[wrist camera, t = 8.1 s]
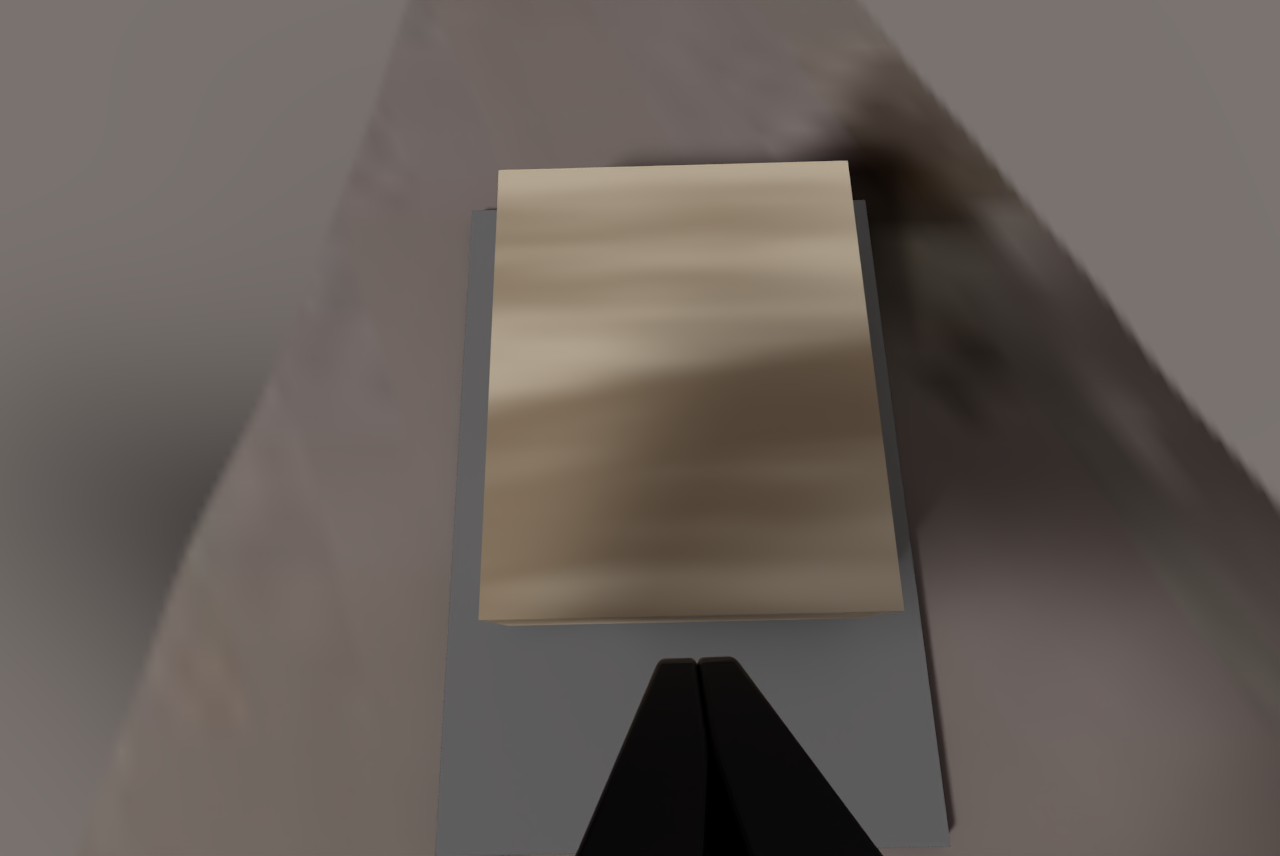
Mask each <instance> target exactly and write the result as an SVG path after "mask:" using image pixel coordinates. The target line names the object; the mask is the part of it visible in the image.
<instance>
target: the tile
mask: <svg viewBox="0 0 1280 856" xmlns="http://www.w3.org/2000/svg"><path fill="white" fill-rule="evenodd" d="M900 611H904V603H903V595H902V587H901V579H900V571H899V563H898V556H897V548H896V540H895V532H894V524H893V516H892V508H891V500H890V492H889V484H888V476H887V468H886V460H885V453H884V445H883V437H882V429H881V421H880V413H879V405H878V397H877V389H876V381H875V373H874V365H873V357H872V349H871V342H870V334H869V326H868V318H867V310H866V302H865V294H864V286H863V278H862V270H861V262H860V254H859V246H858V239H857V231H856V223H855V215H854V207H853V199H852V191H851V183H850V175H849V167H848V161H817V162H781V163H744V164H708V165H672V166H636V167H599V168H563V169H527V170H499V177H498V199H497V221H496V243H495V265H494V287H493V310H492V332H491V354H490V376H489V398H488V420H487V442H486V464H485V487H484V509H483V531H482V553H481V575H480V597H479V619H478V620H481V621H486V622H491V623H497V624H502V625H507V626H523V625H569V624H615V623H661V622H708V621H754V620H800V619H846V618H864V617H870V616H876V615H882V614H888V613H894V612H900Z"/></svg>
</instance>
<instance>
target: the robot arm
mask: <svg viewBox="0 0 1280 856" xmlns="http://www.w3.org/2000/svg"><path fill="white" fill-rule="evenodd" d="M575 856H883V855H882V854H881V852H880V851H879V850H878V848H877V847H876V846H875V844H874V843H873V842H872V840H871V839H870V837H869V836H868V835H867V833H866V832H865V831H864V829H863V828H862V827H861V825H860V824H859V823H858V821H857V820H856V819H855V817H854V816H853V815H852V813H851V812H850V811H849V809H848V808H847V807H846V805H845V804H844V803H843V801H842V800H841V799H840V797H839V796H838V795H837V793H836V792H835V790H834V789H833V788H832V786H831V785H830V784H829V782H828V781H827V780H826V778H825V777H824V776H823V774H822V773H821V772H820V770H819V769H818V768H817V766H816V765H815V764H814V762H813V761H812V760H811V758H810V757H809V756H808V754H807V753H806V752H805V750H804V749H803V748H802V746H801V745H800V743H799V742H798V741H797V739H796V738H795V737H794V735H793V734H792V733H791V731H790V730H789V729H788V727H787V726H786V725H785V723H784V722H783V721H782V719H781V718H780V717H779V715H778V714H777V713H776V711H775V710H774V709H773V707H772V706H771V705H770V703H769V702H768V701H767V699H766V698H765V696H764V695H763V694H762V692H761V691H760V690H759V688H758V687H757V686H756V684H755V683H754V682H753V680H752V679H751V678H750V676H749V675H748V674H747V672H746V671H745V670H744V668H743V667H742V666H741V664H740V663H739V662H738V661H737V660H736V659H735V658H733V657H731V656H723V657H702V658H700V659H699V661H698V662H697V663H696V661H695V660H694V659H693V658H666V659H661V660H660V661H659V662H658V663H657V665H656V667H655V669H654V671H653V674H652V676H651V678H650V681H649V683H648V686H647V688H646V690H645V693H644V695H643V697H642V700H641V702H640V704H639V707H638V709H637V711H636V714H635V716H634V718H633V721H632V723H631V726H630V728H629V730H628V733H627V735H626V737H625V740H624V742H623V744H622V747H621V749H620V751H619V754H618V756H617V758H616V761H615V763H614V765H613V768H612V770H611V773H610V775H609V777H608V780H607V782H606V784H605V787H604V789H603V791H602V794H601V796H600V798H599V801H598V803H597V805H596V808H595V810H594V813H593V815H592V817H591V820H590V822H589V824H588V827H587V829H586V831H585V834H584V836H583V838H582V841H581V843H580V845H579V848H578V850H577V852H576V855H575Z"/></svg>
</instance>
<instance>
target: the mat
mask: <svg viewBox="0 0 1280 856" xmlns="http://www.w3.org/2000/svg"><path fill="white" fill-rule="evenodd" d="M853 207H854V215H855V223H856V231H857V239H858V246H859V254H860V262H861V270H862V278H863V286H864V294H865V302H866V310H867V318H868V326H869V334H870V342H871V349H872V357H873V365H874V373H875V381H876V389H877V397H878V405H879V413H880V421H881V429H882V437H883V445H884V453H885V460H886V468H887V476H888V484H889V492H890V500H891V508H892V516H893V524H894V532H895V540H896V548H897V556H898V563H899V571H900V579H901V587H902V595H903V603H904V611H900V612H894V613H888V614H882V615H876V616H870V617H864V618H846V619H800V620H754V621H708V622H661V623H615V624H569V625H523V626H507V625H502V624H497V623H491V622H486V621H481V620H478V619H479V597H480V575H481V553H482V531H483V509H484V487H485V464H486V442H487V420H488V398H489V376H490V354H491V332H492V310H493V287H494V265H495V243H496V221H497V210H474V211H472V218H471V235H470V253H469V270H468V288H467V305H466V323H465V340H464V358H463V375H462V392H461V410H460V427H459V445H458V462H457V480H456V497H455V515H454V532H453V550H452V567H451V585H450V602H449V620H448V637H447V655H446V672H445V690H444V707H443V725H442V742H441V760H440V777H439V795H438V812H437V830H436V847H435V856H478V855H531V854H576V852H577V850H578V848H579V845H580V843H581V841H582V838H583V836H584V834H585V831H586V829H587V827H588V824H589V822H590V820H591V817H592V815H593V813H594V810H595V808H596V805H597V803H598V801H599V798H600V796H601V794H602V791H603V789H604V787H605V784H606V782H607V780H608V777H609V775H610V773H611V770H612V768H613V765H614V763H615V761H616V758H617V756H618V754H619V751H620V749H621V747H622V744H623V742H624V740H625V737H626V735H627V733H628V730H629V728H630V726H631V723H632V721H633V718H634V716H635V714H636V711H637V709H638V707H639V704H640V702H641V700H642V697H643V695H644V693H645V690H646V688H647V686H648V683H649V681H650V678H651V676H652V674H653V671H654V669H655V667H656V665H657V663H658V662H659V661H660V660H661V659H666V658H693V659H694V660H695V661H696V663H697V662H698V661H699V659H700V658H702V657H723V656H731V657H733V658H735V659H736V660H737V661H738V662H739V663H740V664H741V666H742V667H743V668H744V670H745V671H746V672H747V674H748V675H749V676H750V678H751V679H752V680H753V682H754V683H755V684H756V686H757V687H758V688H759V690H760V691H761V692H762V694H763V695H764V696H765V698H766V699H767V701H768V702H769V703H770V705H771V706H772V707H773V709H774V710H775V711H776V713H777V714H778V715H779V717H780V718H781V719H782V721H783V722H784V723H785V725H786V726H787V727H788V729H789V730H790V731H791V733H792V734H793V735H794V737H795V738H796V739H797V741H798V742H799V743H800V745H801V746H802V748H803V749H804V750H805V752H806V753H807V754H808V756H809V757H810V758H811V760H812V761H813V762H814V764H815V765H816V766H817V768H818V769H819V770H820V772H821V773H822V774H823V776H824V777H825V778H826V780H827V781H828V782H829V784H830V785H831V786H832V788H833V789H834V790H835V792H836V793H837V795H838V796H839V797H840V799H841V800H842V801H843V803H844V804H845V805H846V807H847V808H848V809H849V811H850V812H851V813H852V815H853V816H854V817H855V819H856V820H857V821H858V823H859V824H860V825H861V827H862V828H863V829H864V831H865V832H866V833H867V835H868V836H869V837H870V839H871V840H872V842H873V843H874V844H875V846H876V847H877V848H906V847H951V845H950V838H949V830H948V823H947V815H946V807H945V800H944V792H943V785H942V777H941V770H940V762H939V754H938V747H937V739H936V732H935V724H934V717H933V709H932V702H931V694H930V686H929V679H928V671H927V664H926V656H925V649H924V641H923V633H922V626H921V618H920V611H919V603H918V596H917V588H916V581H915V573H914V565H913V558H912V550H911V543H910V535H909V528H908V520H907V512H906V505H905V497H904V490H903V482H902V475H901V467H900V460H899V452H898V444H897V437H896V429H895V422H894V414H893V407H892V399H891V391H890V384H889V376H888V369H887V361H886V354H885V346H884V339H883V331H882V323H881V316H880V308H879V301H878V293H877V286H876V278H875V270H874V263H873V255H872V248H871V240H870V233H869V225H868V218H867V210H866V202H865V200H853Z"/></svg>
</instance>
